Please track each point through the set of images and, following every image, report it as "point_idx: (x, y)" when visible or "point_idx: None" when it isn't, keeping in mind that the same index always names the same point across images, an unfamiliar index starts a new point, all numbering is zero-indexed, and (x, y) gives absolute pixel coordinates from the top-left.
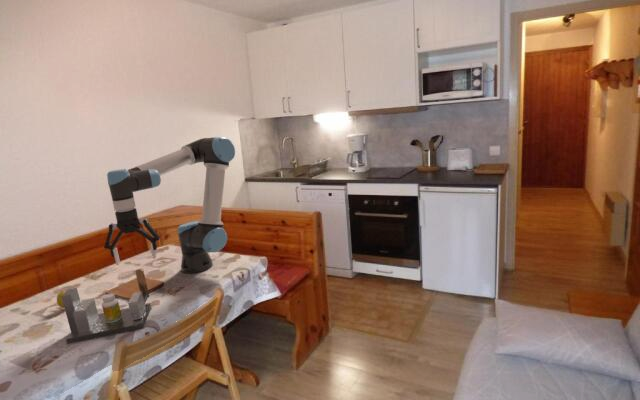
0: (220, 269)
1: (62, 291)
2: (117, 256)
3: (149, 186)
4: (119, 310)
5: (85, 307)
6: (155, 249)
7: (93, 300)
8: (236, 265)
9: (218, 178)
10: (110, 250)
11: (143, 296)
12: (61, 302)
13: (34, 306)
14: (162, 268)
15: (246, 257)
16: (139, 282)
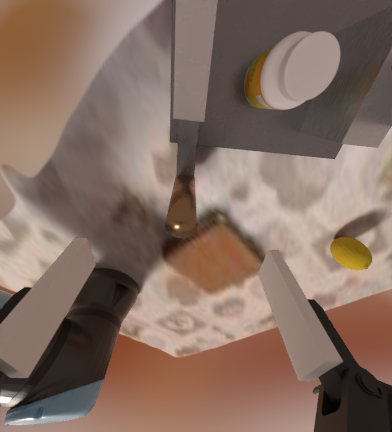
0: (52, 262)
1: (366, 266)
2: (281, 299)
3: None
4: (253, 70)
5: None
6: (25, 290)
7: (343, 131)
8: (20, 264)
9: None
10: (351, 357)
11: (183, 158)
12: (359, 242)
13: (374, 270)
14: (175, 305)
15: (13, 286)
16: (188, 192)
